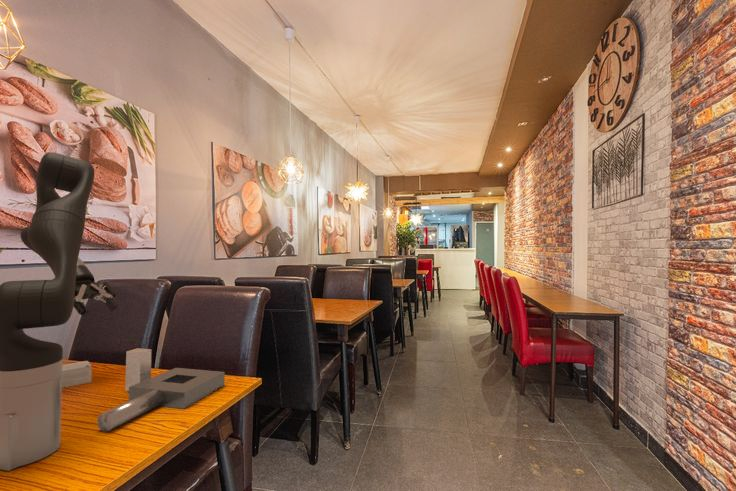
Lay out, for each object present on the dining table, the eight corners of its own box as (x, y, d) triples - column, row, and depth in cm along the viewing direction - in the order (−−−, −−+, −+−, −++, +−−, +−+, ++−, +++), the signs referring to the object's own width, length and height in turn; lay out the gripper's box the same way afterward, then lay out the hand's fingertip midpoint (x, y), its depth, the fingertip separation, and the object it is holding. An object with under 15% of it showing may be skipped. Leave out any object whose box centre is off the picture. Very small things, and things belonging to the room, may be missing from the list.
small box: (54, 382, 102) (55, 365, 102) (88, 376, 108) (88, 360, 108) (56, 389, 96) (57, 371, 97) (91, 382, 102) (92, 365, 102)
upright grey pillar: (139, 392, 94) (140, 352, 94) (125, 390, 95) (126, 351, 96) (150, 387, 98) (151, 349, 98) (136, 386, 99) (137, 348, 99)
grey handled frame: (136, 436, 71) (136, 417, 71) (74, 427, 75) (74, 409, 75) (224, 385, 99) (224, 371, 99) (175, 380, 103) (175, 367, 103)
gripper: (52, 264, 96) (83, 306, 93) (102, 263, 110) (130, 300, 107) (38, 283, 97) (67, 325, 94) (89, 279, 111) (116, 316, 108)
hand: (101, 311), depth 100 cm, fingers open, 8 cm apart
